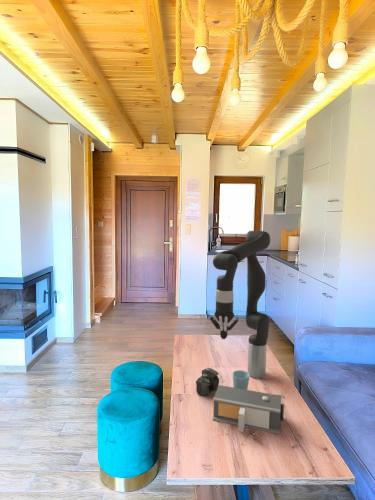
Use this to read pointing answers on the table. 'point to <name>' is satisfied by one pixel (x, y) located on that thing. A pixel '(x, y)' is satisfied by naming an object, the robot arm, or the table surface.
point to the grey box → (234, 398)
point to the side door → (252, 418)
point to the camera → (207, 382)
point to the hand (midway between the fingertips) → (223, 338)
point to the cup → (240, 379)
